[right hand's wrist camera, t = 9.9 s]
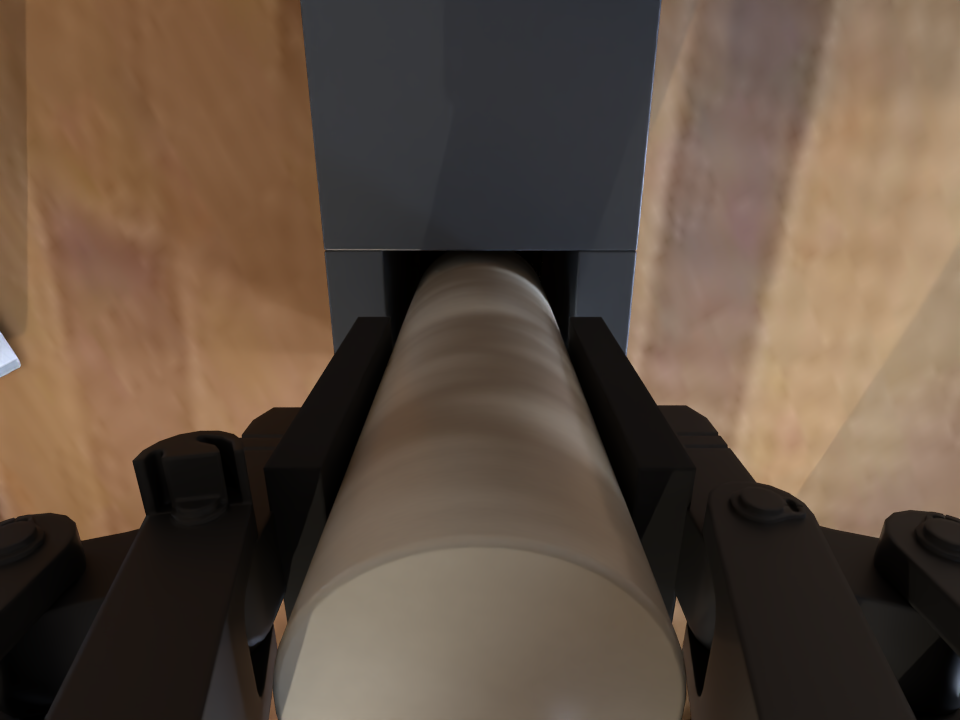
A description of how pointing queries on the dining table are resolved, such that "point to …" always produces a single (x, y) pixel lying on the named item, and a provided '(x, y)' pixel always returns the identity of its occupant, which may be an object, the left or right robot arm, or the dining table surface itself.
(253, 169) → the dining table surface
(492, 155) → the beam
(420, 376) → the dowel
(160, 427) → the dining table surface
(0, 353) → the hard drive box
